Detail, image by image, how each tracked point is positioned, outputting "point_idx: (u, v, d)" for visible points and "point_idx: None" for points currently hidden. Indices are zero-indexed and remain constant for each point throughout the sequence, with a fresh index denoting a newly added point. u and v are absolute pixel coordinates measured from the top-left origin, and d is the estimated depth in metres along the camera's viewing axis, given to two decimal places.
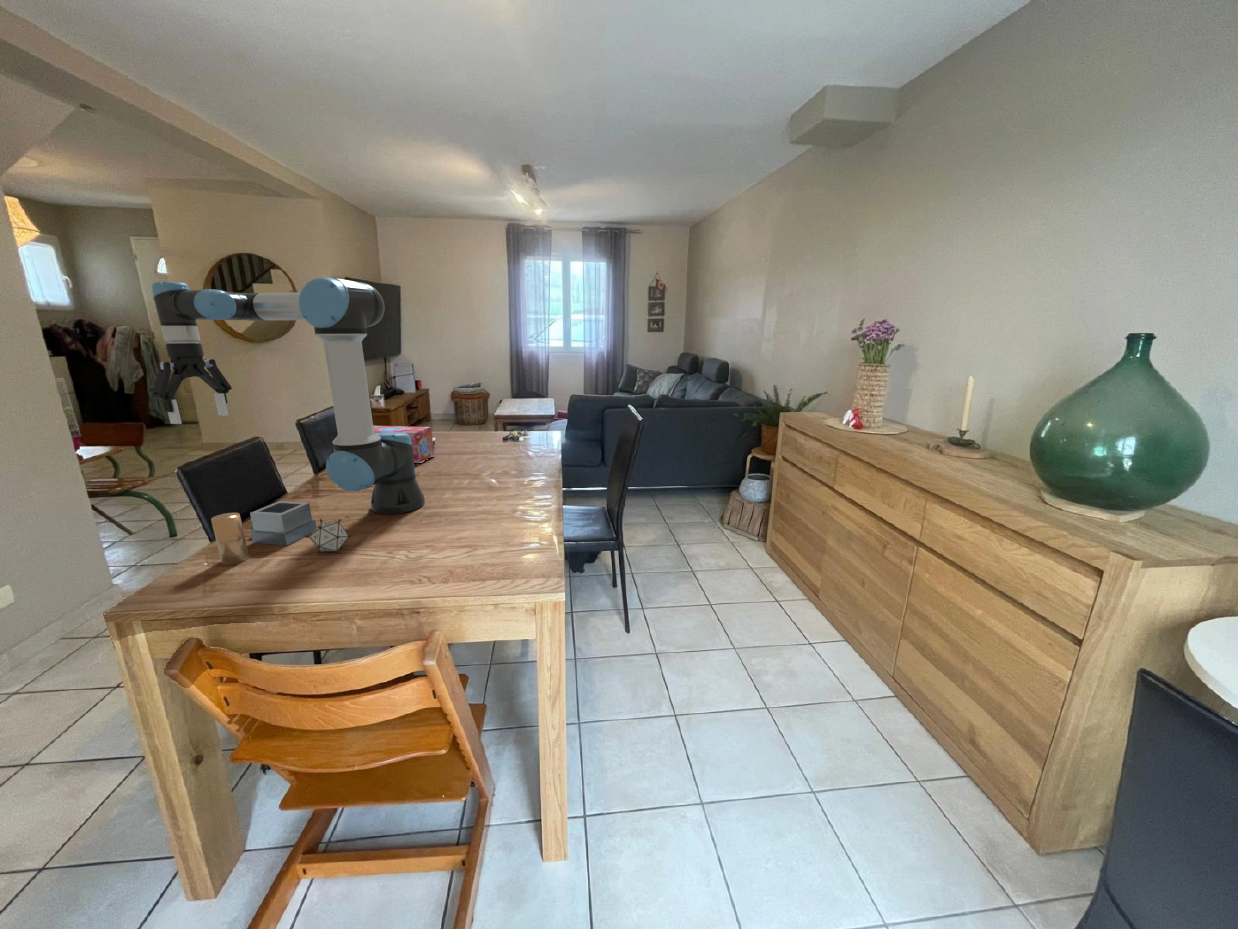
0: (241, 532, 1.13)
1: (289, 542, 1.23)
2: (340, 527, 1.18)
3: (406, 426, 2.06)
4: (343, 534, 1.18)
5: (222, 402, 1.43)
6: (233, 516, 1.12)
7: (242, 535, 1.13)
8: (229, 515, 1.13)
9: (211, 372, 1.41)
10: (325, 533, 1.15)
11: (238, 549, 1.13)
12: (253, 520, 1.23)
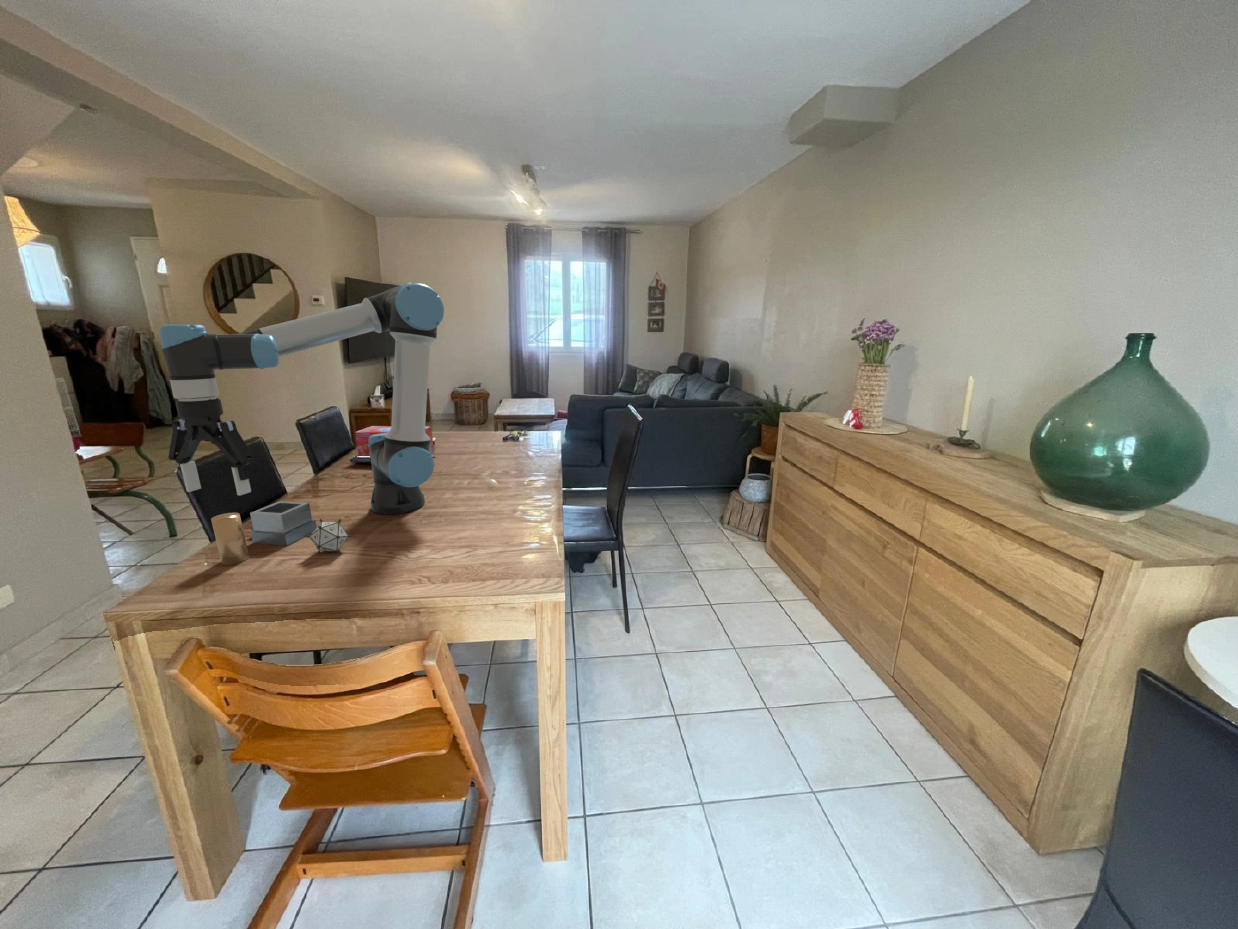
0: (241, 532, 1.13)
1: (289, 542, 1.23)
2: (340, 527, 1.18)
3: None
4: (343, 534, 1.18)
5: None
6: (233, 516, 1.12)
7: (242, 535, 1.13)
8: (229, 515, 1.13)
9: None
10: (325, 533, 1.15)
11: (238, 549, 1.13)
12: (253, 520, 1.23)
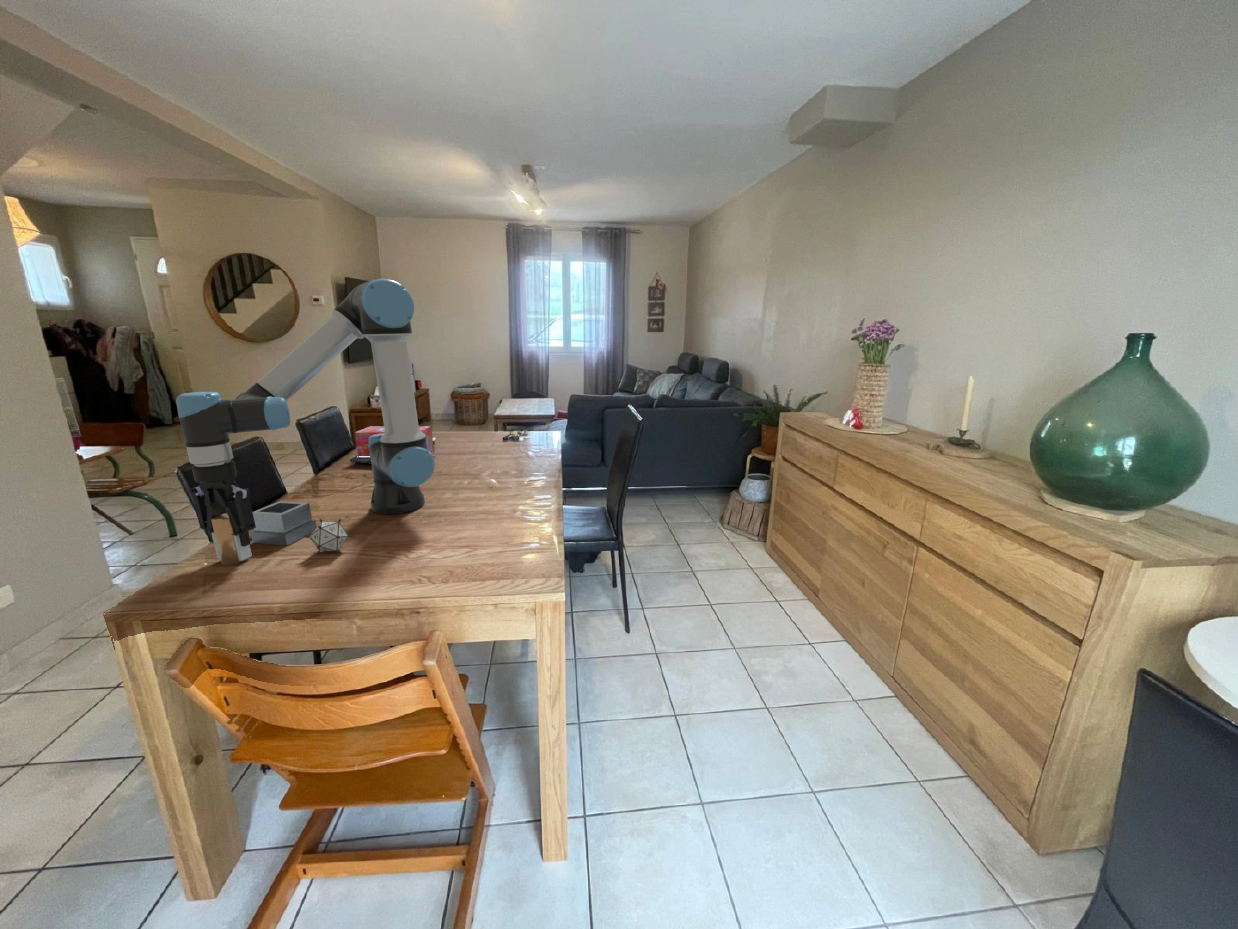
0: None
1: (289, 542, 1.23)
2: (340, 527, 1.18)
3: None
4: (343, 534, 1.18)
5: None
6: None
7: None
8: None
9: None
10: (325, 533, 1.15)
11: None
12: None
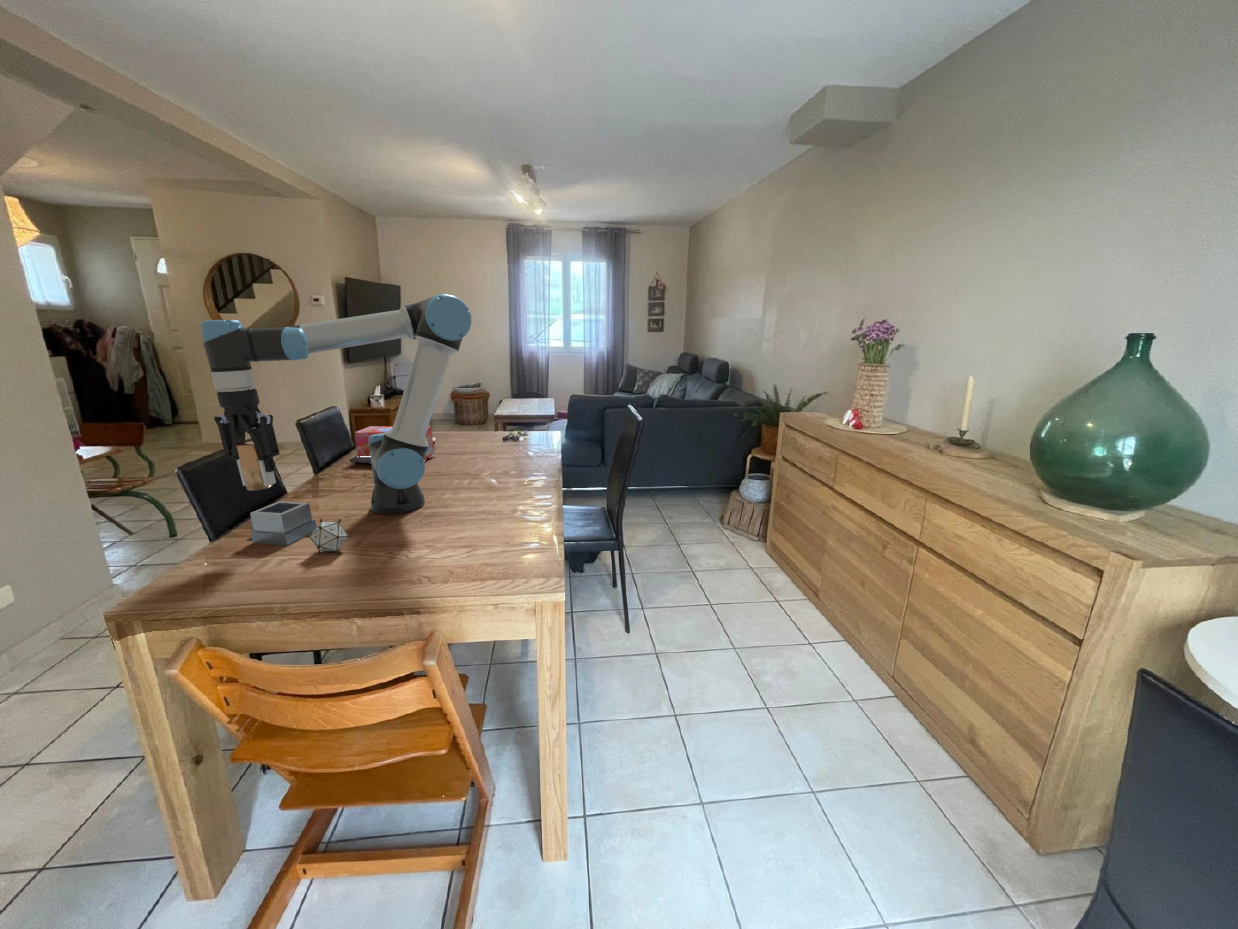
0: None
1: (289, 542, 1.23)
2: (340, 527, 1.18)
3: None
4: (343, 534, 1.18)
5: None
6: None
7: None
8: (252, 442, 1.17)
9: None
10: (325, 533, 1.15)
11: None
12: (253, 520, 1.23)
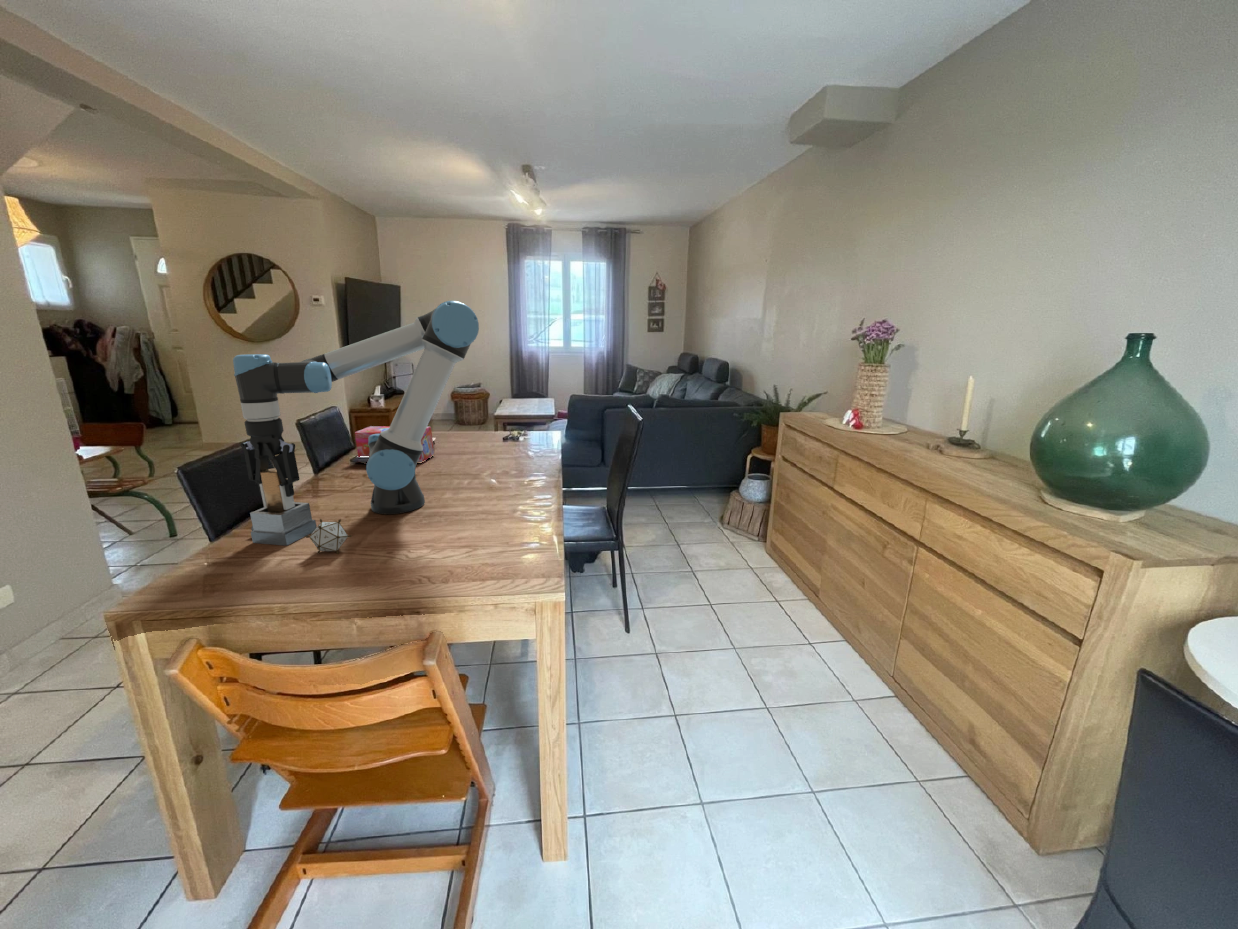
0: None
1: (289, 542, 1.23)
2: (340, 527, 1.18)
3: None
4: (343, 534, 1.18)
5: None
6: None
7: None
8: (275, 469, 1.24)
9: None
10: (325, 533, 1.15)
11: None
12: (253, 520, 1.23)
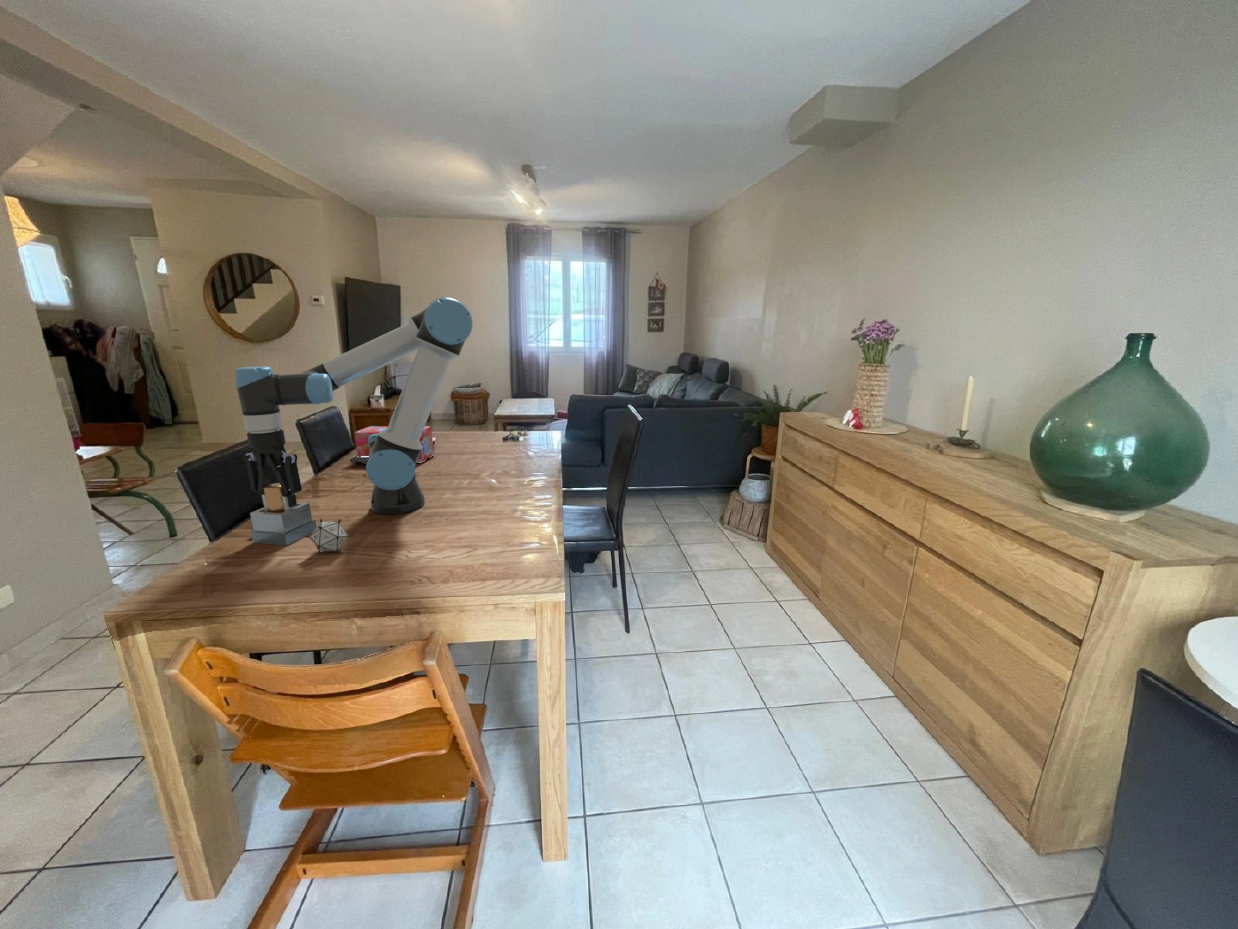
0: None
1: (289, 542, 1.23)
2: (340, 527, 1.18)
3: None
4: (343, 534, 1.18)
5: None
6: None
7: None
8: (278, 484, 1.25)
9: None
10: (325, 533, 1.15)
11: None
12: (253, 520, 1.23)
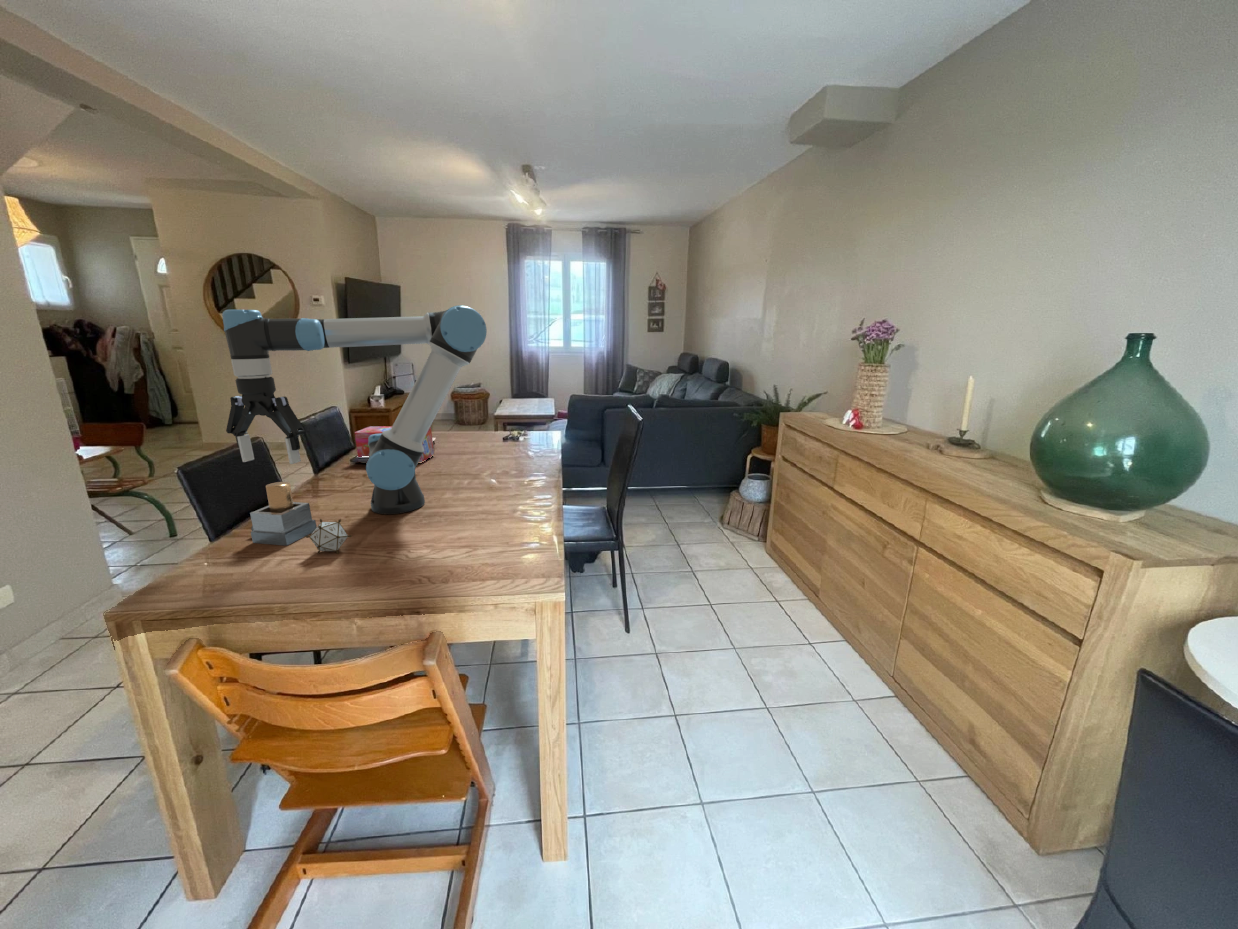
0: (291, 499, 1.26)
1: (289, 542, 1.23)
2: (340, 527, 1.18)
3: None
4: (343, 534, 1.18)
5: None
6: (285, 484, 1.25)
7: (291, 501, 1.27)
8: (280, 483, 1.26)
9: None
10: (325, 533, 1.15)
11: None
12: (253, 520, 1.23)
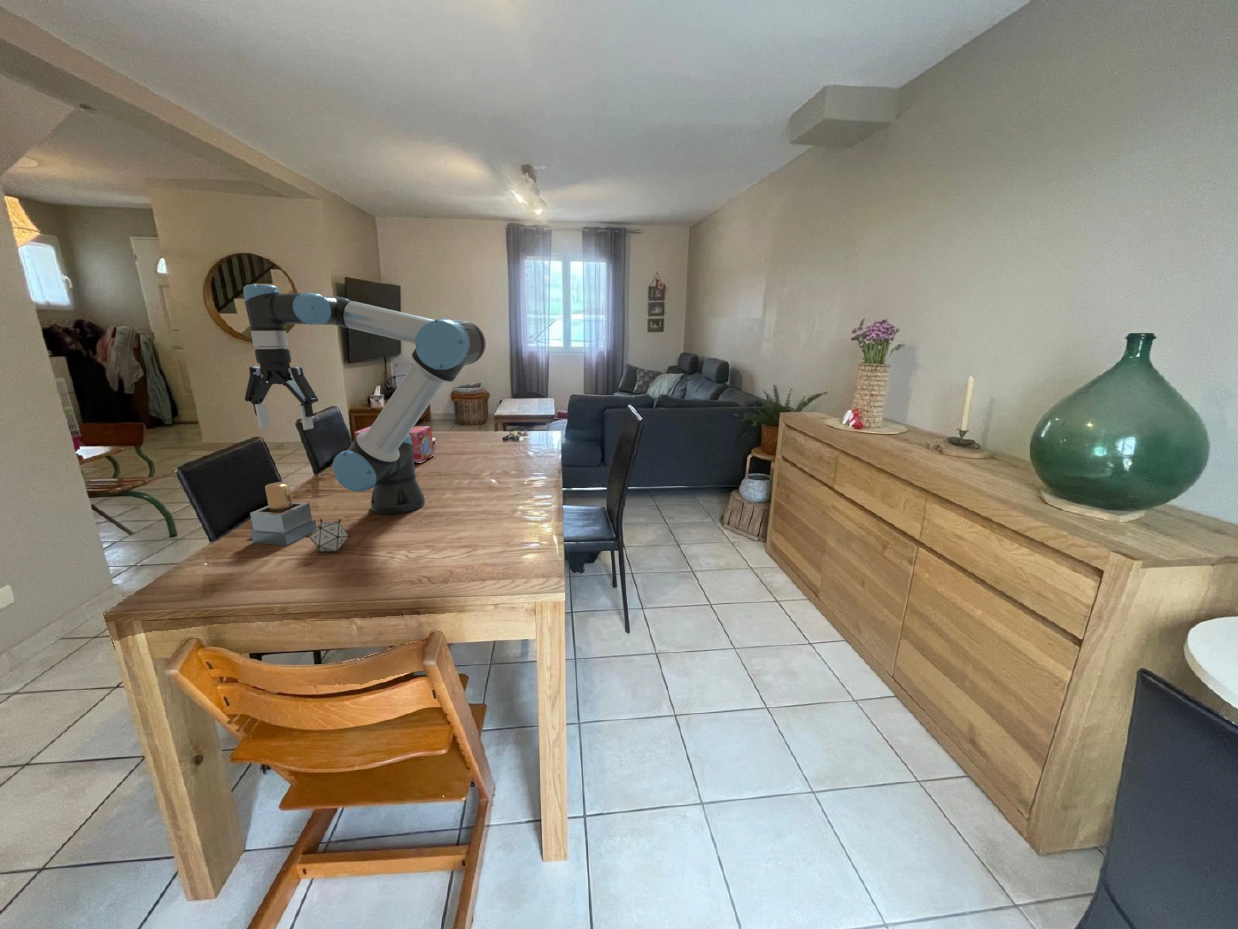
0: (290, 499, 1.26)
1: (289, 542, 1.23)
2: (340, 527, 1.18)
3: None
4: (343, 534, 1.18)
5: None
6: (284, 485, 1.25)
7: (291, 502, 1.26)
8: (280, 484, 1.25)
9: None
10: (325, 533, 1.15)
11: None
12: (253, 520, 1.23)
